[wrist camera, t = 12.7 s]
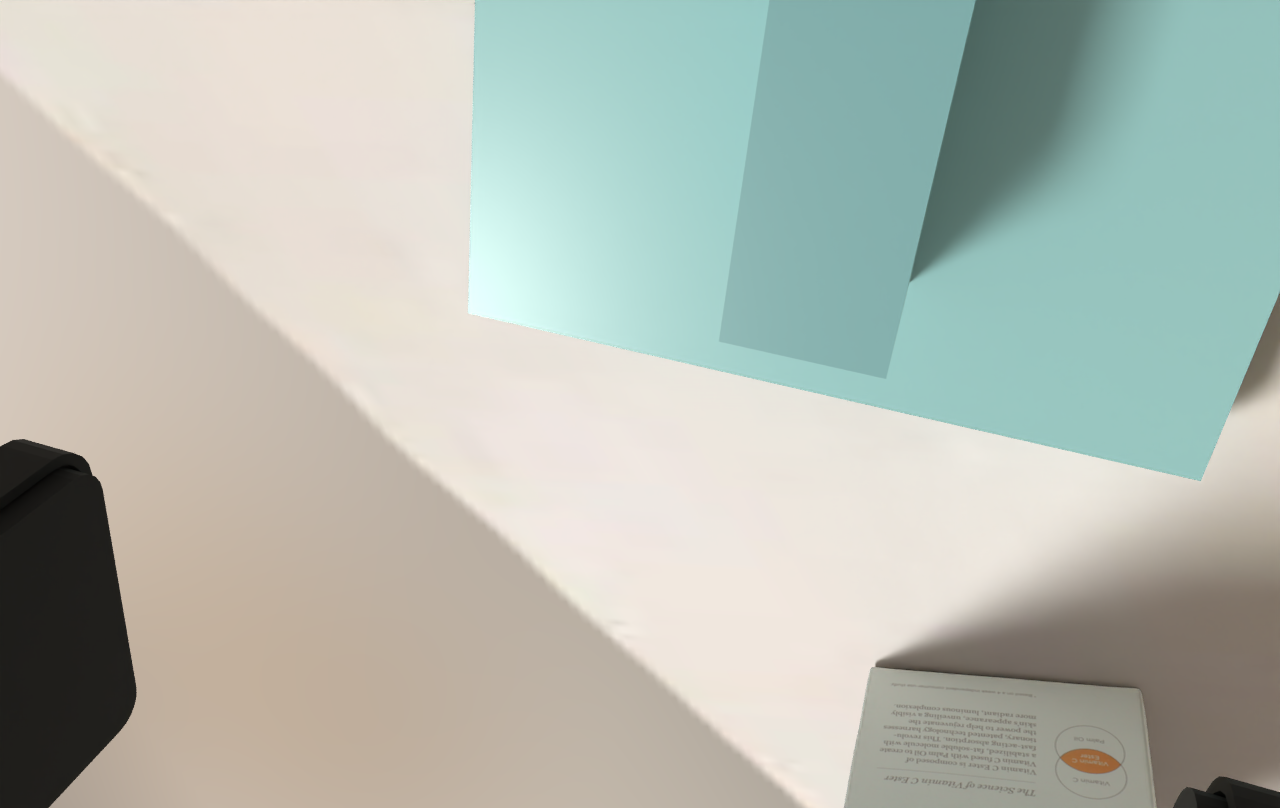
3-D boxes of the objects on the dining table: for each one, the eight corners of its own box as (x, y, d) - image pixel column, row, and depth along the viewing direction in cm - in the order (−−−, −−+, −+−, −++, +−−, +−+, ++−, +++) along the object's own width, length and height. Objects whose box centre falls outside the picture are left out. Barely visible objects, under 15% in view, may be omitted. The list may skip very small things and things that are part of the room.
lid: (1448, -227, 23) (1609, -210, 16) (1188, 424, 31) (1227, 610, 24) (532, -330, 27) (367, -349, 20) (507, 273, 34) (382, 400, 28)
